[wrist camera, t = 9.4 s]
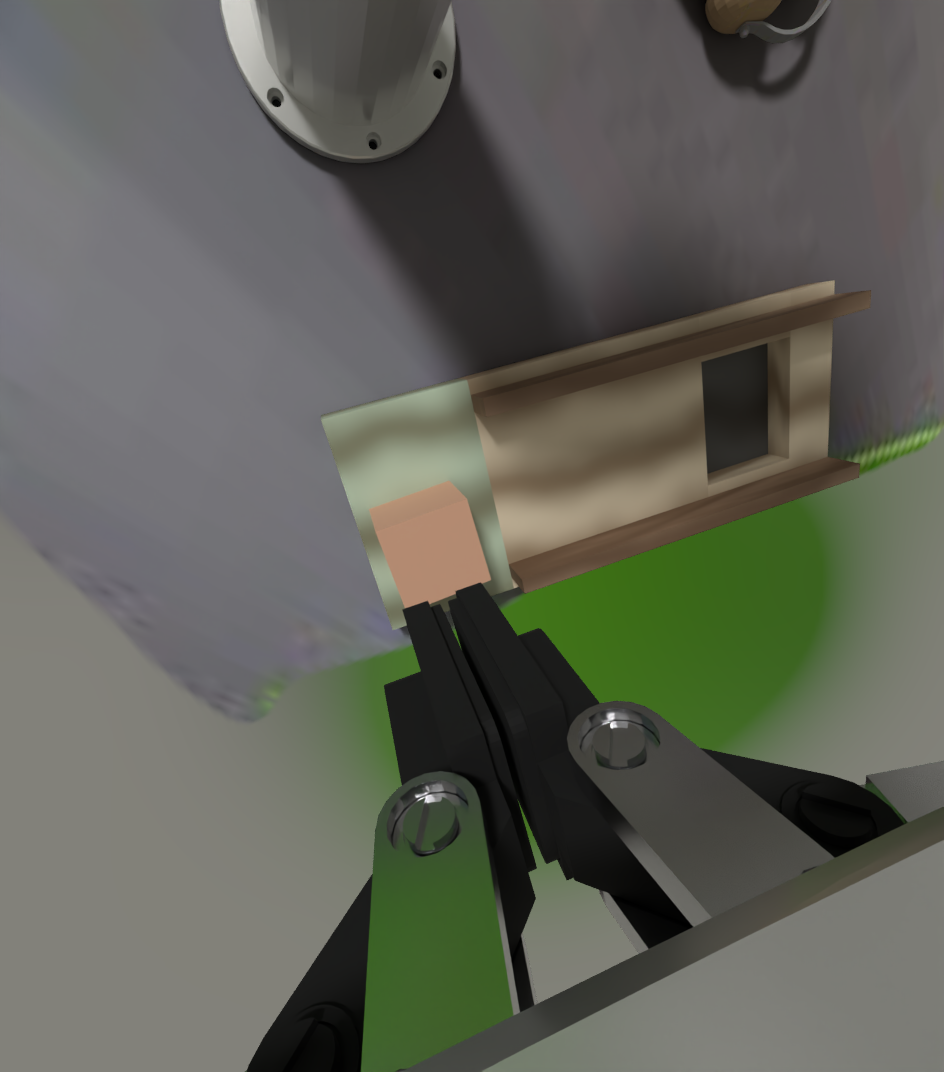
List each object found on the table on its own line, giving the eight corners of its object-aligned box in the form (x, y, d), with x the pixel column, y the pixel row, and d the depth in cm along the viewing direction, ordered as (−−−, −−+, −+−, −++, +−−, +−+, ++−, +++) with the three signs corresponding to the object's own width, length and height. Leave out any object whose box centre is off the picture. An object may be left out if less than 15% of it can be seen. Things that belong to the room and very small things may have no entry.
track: (321, 415, 36) (321, 425, 31) (807, 284, 42) (872, 275, 37) (389, 615, 42) (398, 650, 37) (803, 474, 49) (858, 488, 44)
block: (368, 509, 36) (375, 531, 32) (449, 480, 37) (467, 498, 33) (396, 581, 39) (406, 612, 34) (472, 553, 39) (491, 579, 35)
